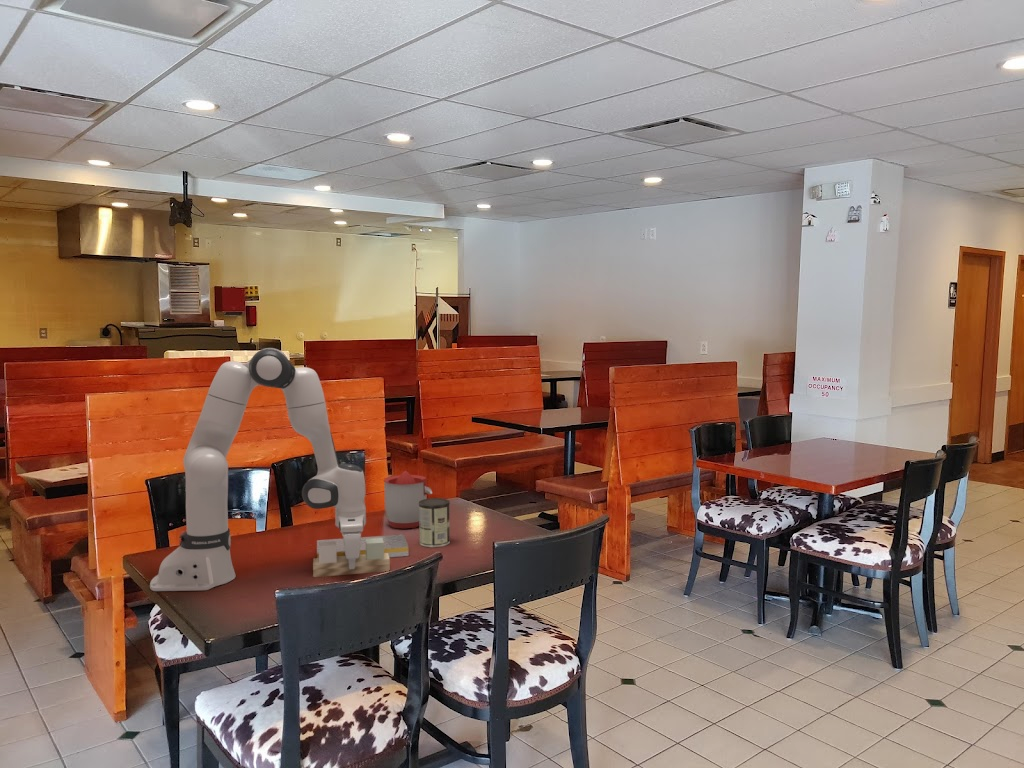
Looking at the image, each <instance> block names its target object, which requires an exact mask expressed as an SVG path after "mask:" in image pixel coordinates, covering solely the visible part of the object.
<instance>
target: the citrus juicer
mask: <svg viewBox="0 0 1024 768" xmlns="http://www.w3.org/2000/svg"><path fill="white" fill-rule="evenodd" d="M427 478H428V477H426V476H424V475H420V474H410V472H408V471H407V470H404V471H403V472H402V473H401V474H399V475H392V476H387V477H385V478H384V479H383V482H384V484H383V485H384V510H385V515H386V518H387V522H388V524H389V526H391V527H392V528H393V529H416V528H419V501H421V500H424V499H428V497H427V496H428V495H432V494H433V491H432V489H431V487H428V485H427V484H428V481H427V480H428V479H427Z"/></svg>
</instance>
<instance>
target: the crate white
mask: <svg viewBox="0 0 1024 768" xmlns="http://www.w3.org/2000/svg"><path fill="white" fill-rule="evenodd" d="M323 563H337V556H336V541H328V542H319V564H323Z"/></svg>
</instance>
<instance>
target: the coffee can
mask: <svg viewBox="0 0 1024 768" xmlns="http://www.w3.org/2000/svg"><path fill="white" fill-rule="evenodd" d="M450 503H451V501H450V499H448V498H447V499H446V498H442V497H441V498H440V497H439V498H438V497H434V498H433V497H431V498H427V499H424V500H421V501H419V526H418V528H419V529H418V530H419V545H420V546H422V547H424V548H442V547H445V546H447V545H449V544H450V543H451V541H450V535H451V533H450V532H451V530H450Z"/></svg>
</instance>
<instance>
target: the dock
mask: <svg viewBox="0 0 1024 768" xmlns="http://www.w3.org/2000/svg"><path fill="white" fill-rule="evenodd" d="M372 538H383V542H384V553H388V555H389V558H398V557H399V558H400V557H409V556H410V555H409V552H410V551H409V544H408V542H407V540H406V537H405V535H404V534H392V535H391V534H390V535H376V536H363V537H362V536H361V542H360V553H359V555H366V539H372ZM328 541H336V556H337V557H340V556H346V555H345V548H344V541H343V538H332V539H330V538H329V539H320V540H318V539H317V540H316V558H319V542H328Z"/></svg>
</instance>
